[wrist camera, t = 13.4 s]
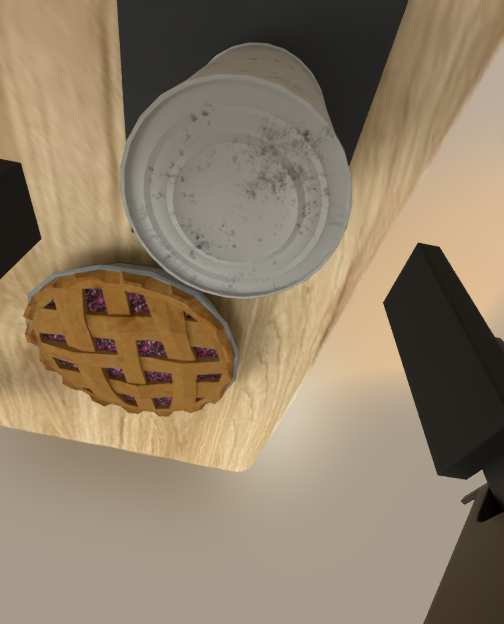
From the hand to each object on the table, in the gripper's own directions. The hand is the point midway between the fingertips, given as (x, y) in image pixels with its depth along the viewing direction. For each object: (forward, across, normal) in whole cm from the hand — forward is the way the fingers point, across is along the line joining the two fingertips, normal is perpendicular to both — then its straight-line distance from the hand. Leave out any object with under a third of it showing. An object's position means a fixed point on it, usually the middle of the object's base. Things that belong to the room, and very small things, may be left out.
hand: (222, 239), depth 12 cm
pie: (+16, -8, -23) cm, 29 cm away
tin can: (+16, 0, 0) cm, 16 cm away
